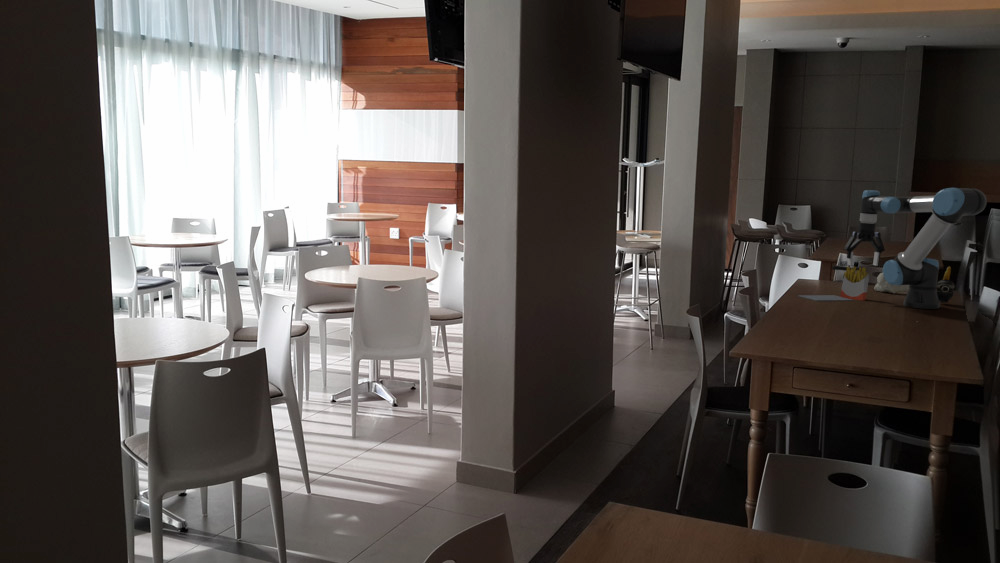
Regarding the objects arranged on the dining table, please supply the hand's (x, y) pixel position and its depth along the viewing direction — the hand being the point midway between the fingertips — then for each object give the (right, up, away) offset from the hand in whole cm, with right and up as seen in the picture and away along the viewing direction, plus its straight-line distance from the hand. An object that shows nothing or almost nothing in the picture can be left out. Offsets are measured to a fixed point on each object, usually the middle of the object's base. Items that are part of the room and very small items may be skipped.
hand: (862, 265), depth 409 cm
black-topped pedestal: (+15, -10, +55) cm, 58 cm away
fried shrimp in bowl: (+34, -18, -10) cm, 40 cm away
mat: (-20, -16, -4) cm, 26 cm away
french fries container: (-6, -19, -3) cm, 20 cm away
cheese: (+17, -14, +24) cm, 33 cm away
